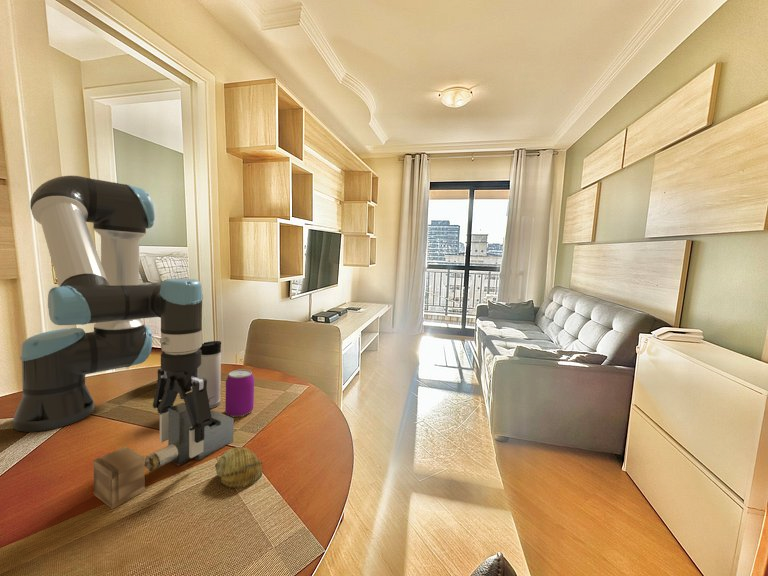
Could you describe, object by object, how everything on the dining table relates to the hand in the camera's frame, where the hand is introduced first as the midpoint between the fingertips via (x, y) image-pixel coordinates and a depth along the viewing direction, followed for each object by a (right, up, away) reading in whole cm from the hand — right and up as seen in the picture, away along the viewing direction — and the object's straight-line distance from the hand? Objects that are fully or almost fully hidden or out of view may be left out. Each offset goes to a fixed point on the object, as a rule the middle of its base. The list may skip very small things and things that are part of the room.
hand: (181, 446), depth 71 cm
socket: (-5, -4, -10) cm, 12 cm away
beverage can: (+2, -2, +24) cm, 24 cm away
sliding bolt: (0, -3, +1) cm, 3 cm away
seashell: (+15, -5, -3) cm, 16 cm away
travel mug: (-8, -1, +27) cm, 28 cm away
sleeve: (+3, -3, +6) cm, 7 cm away
